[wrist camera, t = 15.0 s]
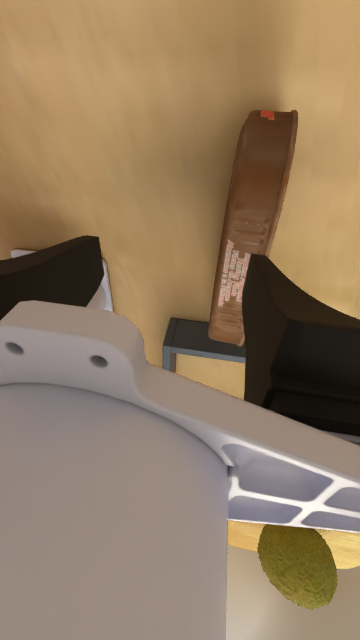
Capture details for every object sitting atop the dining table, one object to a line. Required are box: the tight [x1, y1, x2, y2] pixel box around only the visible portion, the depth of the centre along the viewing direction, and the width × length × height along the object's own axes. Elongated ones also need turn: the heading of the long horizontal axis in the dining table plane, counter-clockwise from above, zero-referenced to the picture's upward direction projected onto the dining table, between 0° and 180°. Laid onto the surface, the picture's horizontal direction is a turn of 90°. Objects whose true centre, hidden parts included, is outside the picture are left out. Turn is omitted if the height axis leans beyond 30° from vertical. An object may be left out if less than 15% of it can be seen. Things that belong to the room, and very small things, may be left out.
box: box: [163, 318, 246, 373], centre depth 33 cm, size 14×20×4 cm
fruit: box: [257, 524, 338, 609], centre depth 58 cm, size 16×14×15 cm
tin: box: [208, 110, 298, 347], centre depth 18 cm, size 15×3×8 cm, turn 177°
